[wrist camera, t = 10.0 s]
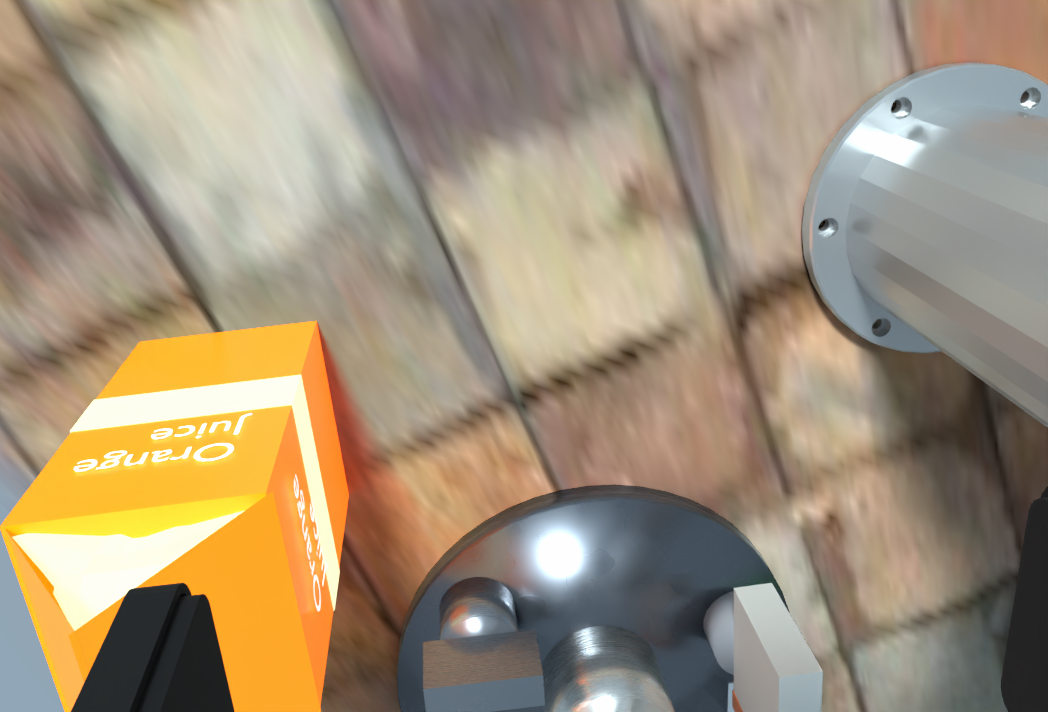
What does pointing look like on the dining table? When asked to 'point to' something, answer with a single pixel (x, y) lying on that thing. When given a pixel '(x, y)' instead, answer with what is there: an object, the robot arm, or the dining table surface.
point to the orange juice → (197, 510)
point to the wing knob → (763, 652)
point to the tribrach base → (578, 608)
